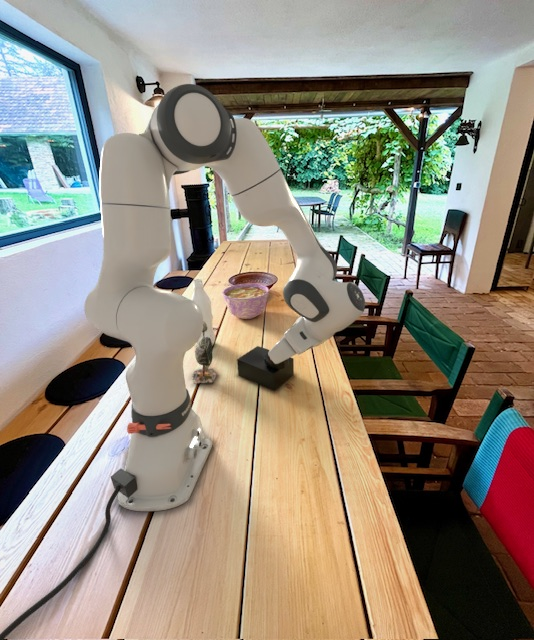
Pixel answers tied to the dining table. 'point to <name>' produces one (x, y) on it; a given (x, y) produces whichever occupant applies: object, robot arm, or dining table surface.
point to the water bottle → (204, 308)
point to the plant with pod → (204, 360)
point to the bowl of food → (246, 300)
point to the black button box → (264, 369)
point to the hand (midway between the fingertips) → (282, 351)
